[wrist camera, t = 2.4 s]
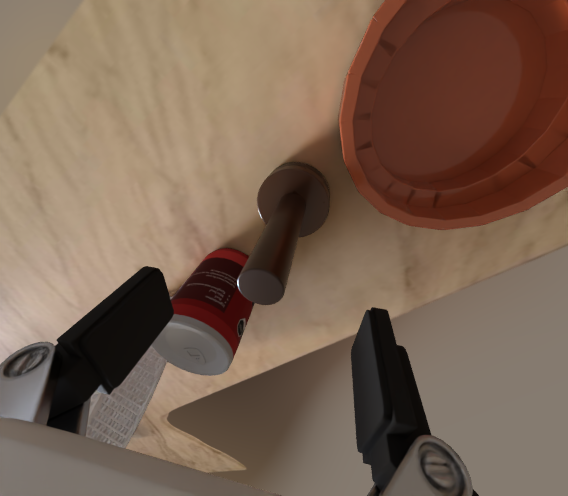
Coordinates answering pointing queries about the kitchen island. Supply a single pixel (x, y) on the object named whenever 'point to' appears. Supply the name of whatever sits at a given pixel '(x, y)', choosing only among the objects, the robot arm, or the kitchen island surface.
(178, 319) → the canned food
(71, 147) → the kitchen island surface
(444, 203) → the bowl
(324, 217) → the brown coffee tamper
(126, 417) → the skyscraper
